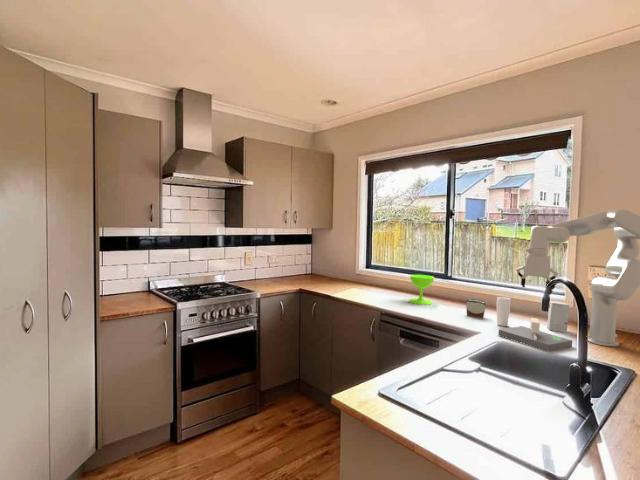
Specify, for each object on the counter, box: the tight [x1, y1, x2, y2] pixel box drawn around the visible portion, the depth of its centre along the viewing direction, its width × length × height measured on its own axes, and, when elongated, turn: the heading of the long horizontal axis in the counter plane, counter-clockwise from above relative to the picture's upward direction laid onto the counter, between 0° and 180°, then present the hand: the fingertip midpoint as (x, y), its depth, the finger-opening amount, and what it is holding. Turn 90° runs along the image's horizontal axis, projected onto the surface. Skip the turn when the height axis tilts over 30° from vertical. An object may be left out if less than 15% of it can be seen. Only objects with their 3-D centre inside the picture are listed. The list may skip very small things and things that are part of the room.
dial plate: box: [497, 325, 573, 352], centre depth 170 cm, size 18×24×3 cm
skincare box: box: [546, 300, 570, 333], centre depth 191 cm, size 8×6×15 cm
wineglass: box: [408, 274, 435, 306], centre depth 250 cm, size 16×16×18 cm
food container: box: [464, 297, 488, 319], centre depth 215 cm, size 12×6×10 cm, turn 47°
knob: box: [529, 317, 541, 339], centre depth 168 cm, size 15×3×6 cm, turn 152°
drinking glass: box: [496, 296, 512, 327], centre depth 197 cm, size 7×7×15 cm
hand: (534, 288), depth 170 cm, fingers open, 9 cm apart
